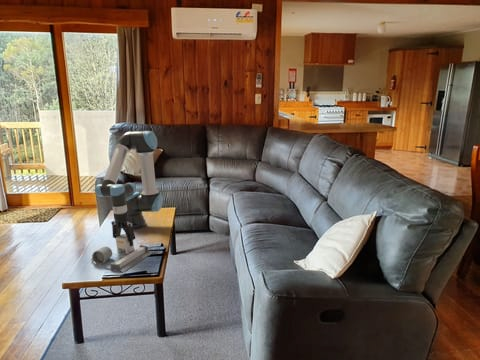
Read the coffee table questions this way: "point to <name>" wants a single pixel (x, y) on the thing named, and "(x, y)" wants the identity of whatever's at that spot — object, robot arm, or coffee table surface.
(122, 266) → the rail base
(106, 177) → the robot arm
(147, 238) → the coffee table surface
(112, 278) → the coffee table surface
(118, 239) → the module
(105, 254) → the ceramic mug
